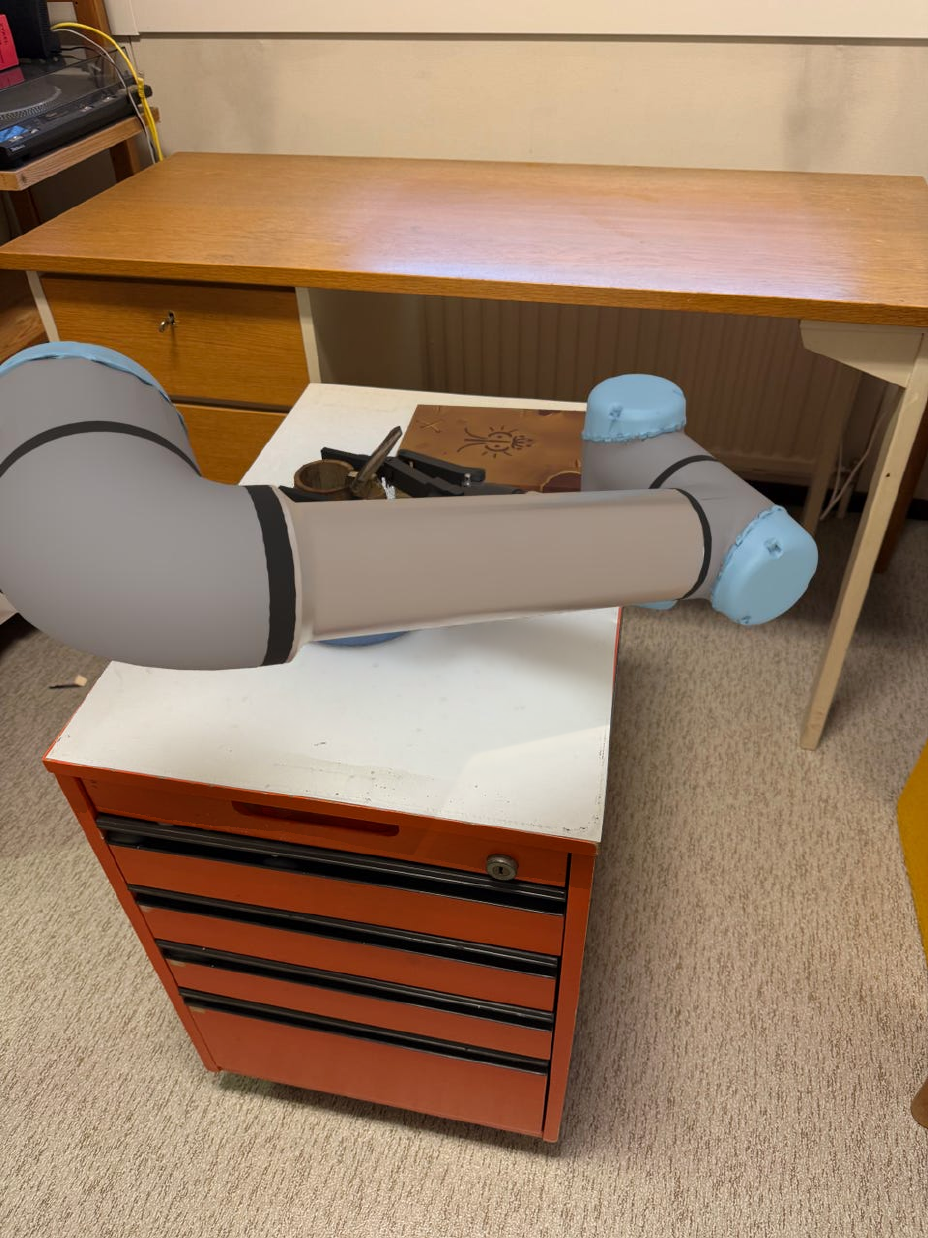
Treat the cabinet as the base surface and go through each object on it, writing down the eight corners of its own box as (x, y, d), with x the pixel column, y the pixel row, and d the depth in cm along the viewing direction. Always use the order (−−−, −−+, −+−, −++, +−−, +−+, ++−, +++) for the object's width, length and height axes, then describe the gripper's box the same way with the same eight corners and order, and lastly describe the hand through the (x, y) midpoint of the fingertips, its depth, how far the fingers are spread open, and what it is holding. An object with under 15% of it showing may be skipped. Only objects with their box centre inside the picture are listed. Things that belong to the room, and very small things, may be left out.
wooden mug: (394, 612, 87) (375, 453, 75) (279, 580, 91) (243, 425, 79) (434, 561, 93) (422, 405, 81) (324, 533, 97) (297, 382, 85)
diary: (593, 448, 115) (596, 408, 111) (584, 531, 101) (587, 488, 98) (421, 439, 119) (418, 399, 115) (389, 517, 105) (385, 475, 101)
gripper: (470, 629, 75) (250, 565, 83) (555, 508, 88) (358, 463, 96) (467, 559, 70) (234, 498, 78) (557, 442, 84) (350, 400, 91)
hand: (303, 479), depth 87 cm, fingers closed on wooden mug, 7 cm apart
